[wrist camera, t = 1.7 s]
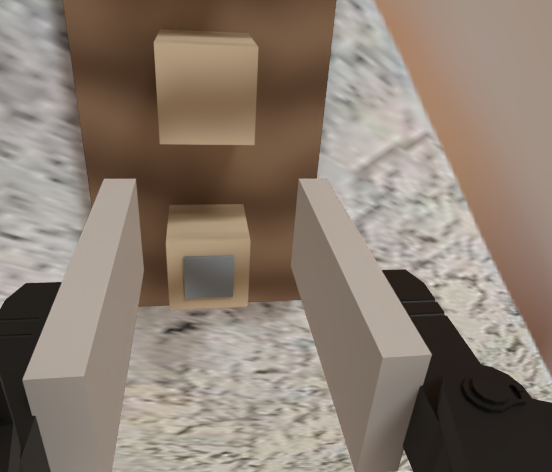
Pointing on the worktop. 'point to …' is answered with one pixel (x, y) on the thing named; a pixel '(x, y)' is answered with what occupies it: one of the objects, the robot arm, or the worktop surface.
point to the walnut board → (204, 158)
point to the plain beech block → (206, 87)
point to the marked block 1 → (207, 256)
